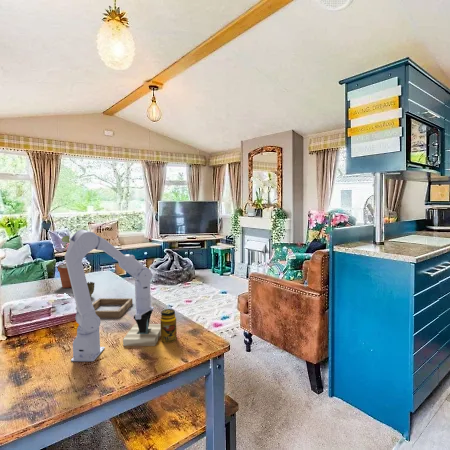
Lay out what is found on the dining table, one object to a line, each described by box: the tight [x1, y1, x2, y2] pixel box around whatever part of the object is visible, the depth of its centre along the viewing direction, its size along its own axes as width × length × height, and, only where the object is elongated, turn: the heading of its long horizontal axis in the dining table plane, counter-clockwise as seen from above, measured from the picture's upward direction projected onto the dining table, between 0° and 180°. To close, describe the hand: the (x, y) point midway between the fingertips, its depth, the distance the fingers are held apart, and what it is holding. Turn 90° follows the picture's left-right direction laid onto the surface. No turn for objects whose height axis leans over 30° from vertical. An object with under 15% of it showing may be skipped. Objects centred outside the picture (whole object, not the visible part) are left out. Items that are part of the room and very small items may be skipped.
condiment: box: [159, 308, 178, 344], centre depth 121 cm, size 7×8×12 cm
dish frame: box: [92, 297, 134, 319], centre depth 152 cm, size 18×17×3 cm
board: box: [122, 323, 161, 347], centre depth 123 cm, size 14×12×2 cm
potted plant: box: [57, 235, 72, 289], centre depth 195 cm, size 16×15×35 cm
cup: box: [87, 281, 96, 298], centre depth 172 cm, size 8×7×8 cm
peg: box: [140, 320, 149, 334], centre depth 122 cm, size 4×4×8 cm
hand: (144, 330), depth 122 cm, fingers closed on peg, 3 cm apart
